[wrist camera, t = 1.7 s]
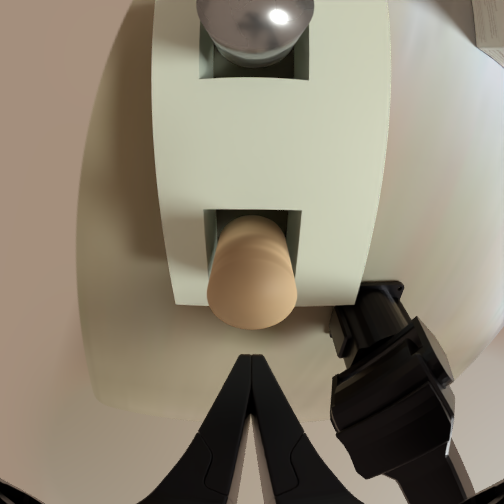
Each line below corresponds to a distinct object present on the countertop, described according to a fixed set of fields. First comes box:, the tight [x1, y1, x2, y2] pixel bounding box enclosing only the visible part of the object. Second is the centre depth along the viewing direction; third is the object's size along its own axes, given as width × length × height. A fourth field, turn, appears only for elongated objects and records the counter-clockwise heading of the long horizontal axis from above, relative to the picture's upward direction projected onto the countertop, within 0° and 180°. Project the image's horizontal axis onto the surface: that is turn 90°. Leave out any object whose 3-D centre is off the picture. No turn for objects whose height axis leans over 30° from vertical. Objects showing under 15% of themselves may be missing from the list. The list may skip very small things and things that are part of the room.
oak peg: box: [207, 215, 297, 330], centre depth 14 cm, size 4×4×5 cm
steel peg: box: [196, 0, 314, 68], centre depth 8 cm, size 4×4×5 cm
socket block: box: [151, 0, 391, 307], centre depth 15 cm, size 12×20×5 cm, turn 179°
